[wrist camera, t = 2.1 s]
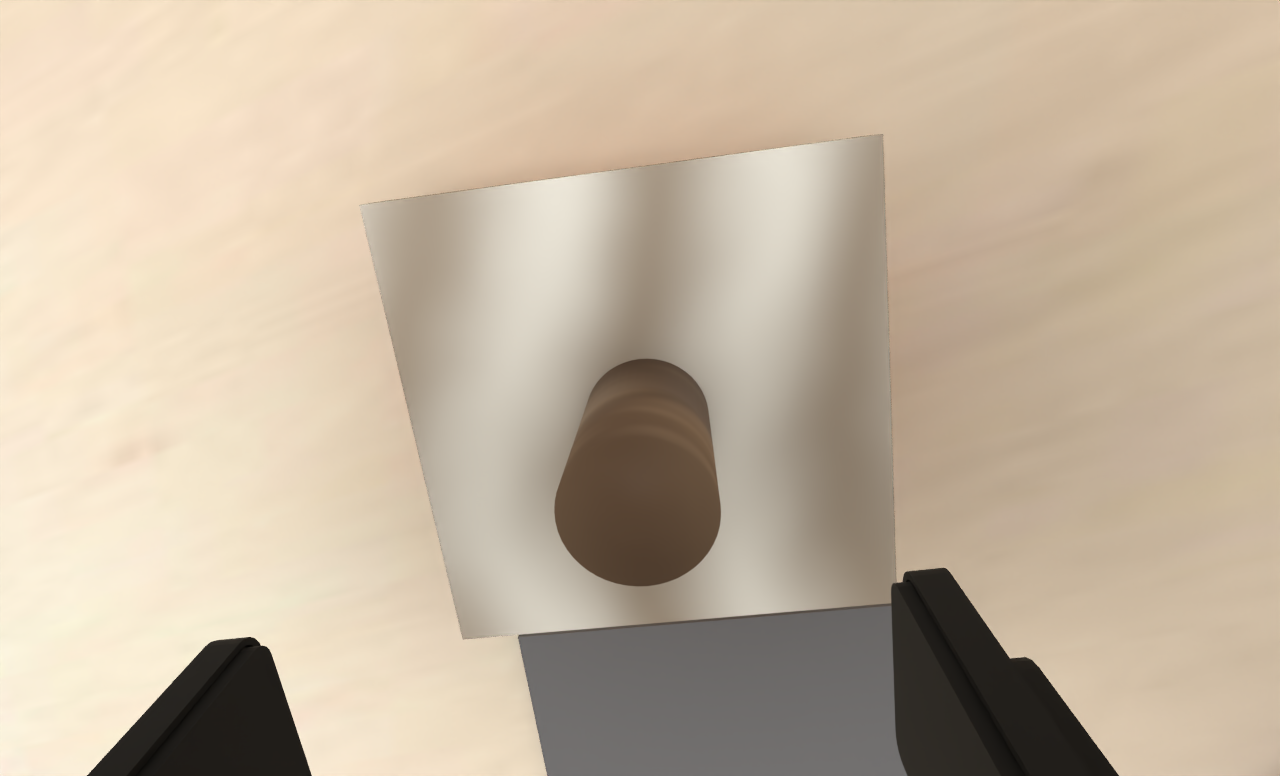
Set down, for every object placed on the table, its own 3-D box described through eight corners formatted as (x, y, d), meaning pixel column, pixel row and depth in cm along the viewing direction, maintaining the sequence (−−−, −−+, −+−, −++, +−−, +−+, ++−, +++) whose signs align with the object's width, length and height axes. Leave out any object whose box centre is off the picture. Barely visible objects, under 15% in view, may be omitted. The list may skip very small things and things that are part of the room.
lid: (873, 134, 20) (972, 127, 13) (888, 584, 24) (969, 751, 17) (373, 202, 21) (234, 226, 14) (470, 621, 25) (397, 789, 19)
